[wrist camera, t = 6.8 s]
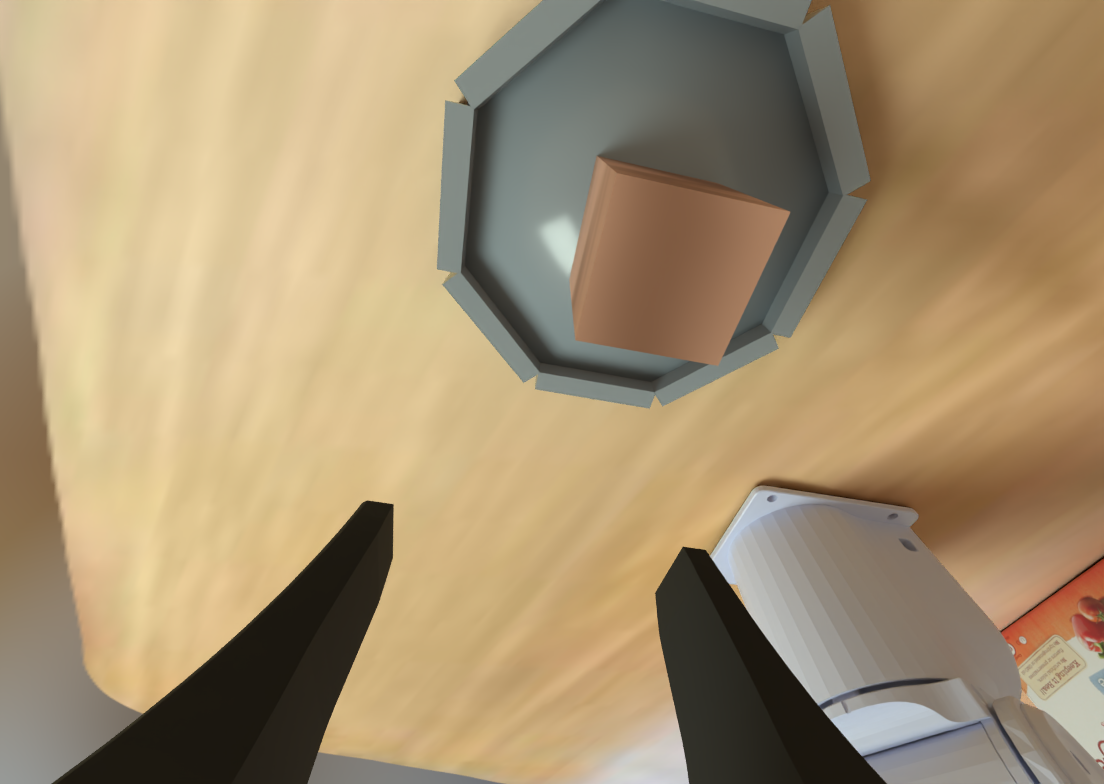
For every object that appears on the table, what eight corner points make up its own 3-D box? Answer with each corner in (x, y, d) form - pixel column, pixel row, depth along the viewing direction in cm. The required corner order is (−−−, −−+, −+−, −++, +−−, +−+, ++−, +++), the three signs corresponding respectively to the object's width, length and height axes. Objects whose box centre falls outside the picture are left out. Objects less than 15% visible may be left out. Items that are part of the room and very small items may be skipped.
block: (717, 183, 14) (790, 211, 9) (674, 299, 16) (717, 366, 12) (596, 155, 13) (616, 172, 9) (569, 279, 15) (575, 340, 11)
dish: (912, 41, 12) (961, 30, 11) (727, 400, 19) (742, 424, 18) (469, -84, 11) (456, -116, 10) (442, 350, 18) (431, 371, 16)
